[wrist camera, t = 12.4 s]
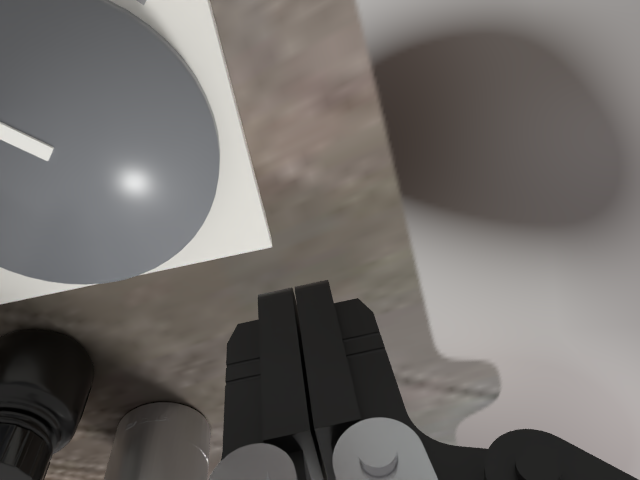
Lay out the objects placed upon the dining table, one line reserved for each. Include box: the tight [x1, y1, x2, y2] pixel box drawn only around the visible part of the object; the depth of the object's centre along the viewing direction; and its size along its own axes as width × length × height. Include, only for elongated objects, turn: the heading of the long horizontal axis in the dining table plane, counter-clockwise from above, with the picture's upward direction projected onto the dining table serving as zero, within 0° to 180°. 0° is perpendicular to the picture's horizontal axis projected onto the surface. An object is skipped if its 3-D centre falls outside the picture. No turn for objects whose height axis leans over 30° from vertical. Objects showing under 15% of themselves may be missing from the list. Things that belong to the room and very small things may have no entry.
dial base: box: [0, 0, 272, 304], centre depth 34 cm, size 22×23×2 cm
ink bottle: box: [0, 330, 94, 480], centre depth 40 cm, size 10×9×12 cm
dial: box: [0, 0, 220, 285], centre depth 30 cm, size 20×20×9 cm
